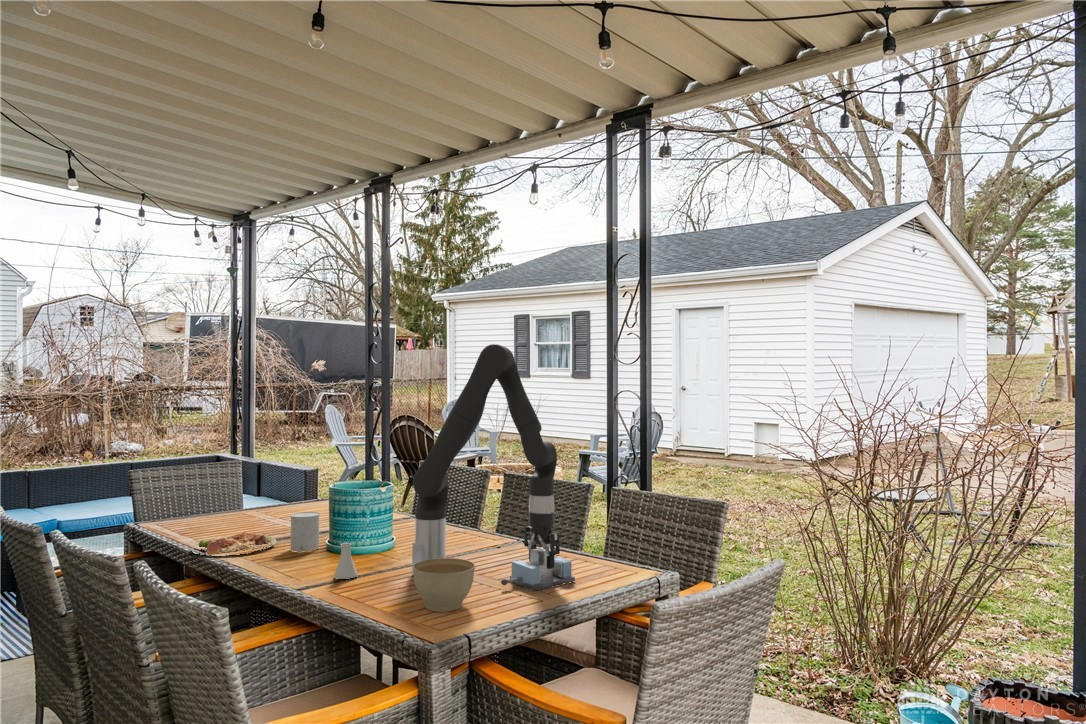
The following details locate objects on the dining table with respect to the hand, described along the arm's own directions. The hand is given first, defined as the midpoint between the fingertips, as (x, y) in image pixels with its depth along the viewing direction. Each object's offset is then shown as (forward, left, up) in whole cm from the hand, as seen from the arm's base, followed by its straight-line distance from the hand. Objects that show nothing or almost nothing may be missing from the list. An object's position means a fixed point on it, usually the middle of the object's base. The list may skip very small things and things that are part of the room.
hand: (541, 565), depth 212 cm
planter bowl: (-34, -3, -5) cm, 35 cm away
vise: (0, 0, -5) cm, 5 cm away
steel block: (0, 0, -3) cm, 3 cm away
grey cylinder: (-42, +81, -5) cm, 91 cm away
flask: (-44, +39, -5) cm, 59 cm away
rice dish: (-61, +98, -5) cm, 116 cm away
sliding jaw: (-9, 0, -4) cm, 10 cm away
